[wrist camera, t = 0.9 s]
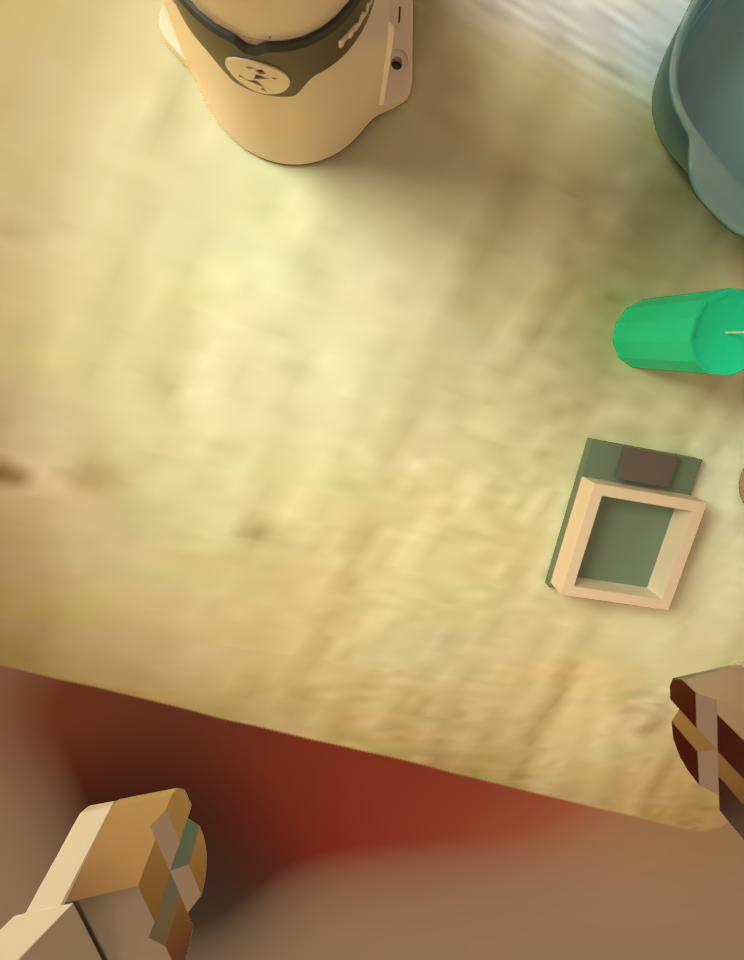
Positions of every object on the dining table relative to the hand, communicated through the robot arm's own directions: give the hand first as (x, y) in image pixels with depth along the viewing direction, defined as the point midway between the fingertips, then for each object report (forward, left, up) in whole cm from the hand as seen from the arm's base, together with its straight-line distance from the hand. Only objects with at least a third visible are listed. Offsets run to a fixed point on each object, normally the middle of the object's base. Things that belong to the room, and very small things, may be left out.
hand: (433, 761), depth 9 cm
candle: (-12, +24, -40) cm, 48 cm away
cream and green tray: (+6, +27, -40) cm, 48 cm away
